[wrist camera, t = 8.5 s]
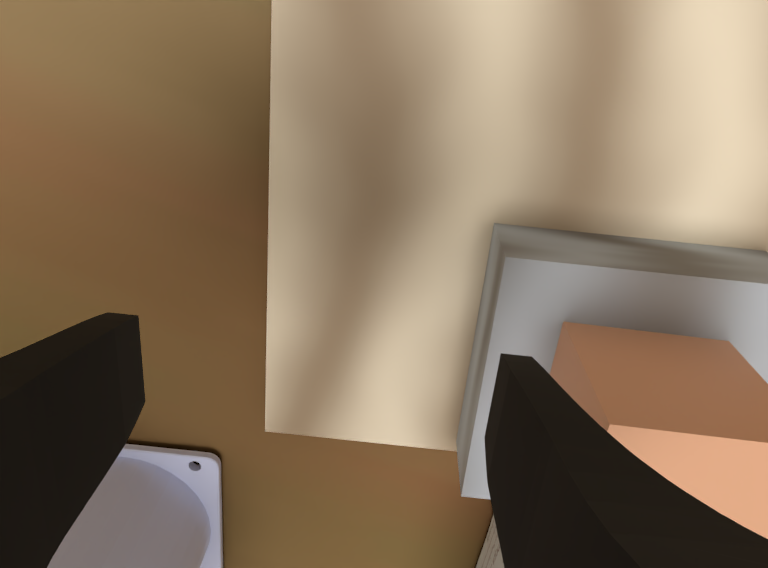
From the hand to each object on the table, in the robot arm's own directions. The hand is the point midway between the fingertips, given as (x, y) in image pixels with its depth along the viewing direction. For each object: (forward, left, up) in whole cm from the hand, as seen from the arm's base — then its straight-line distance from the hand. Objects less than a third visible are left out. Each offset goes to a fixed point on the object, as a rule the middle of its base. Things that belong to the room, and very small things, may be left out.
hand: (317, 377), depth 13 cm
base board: (+6, 0, -10) cm, 12 cm away
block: (+9, -4, -6) cm, 12 cm away
